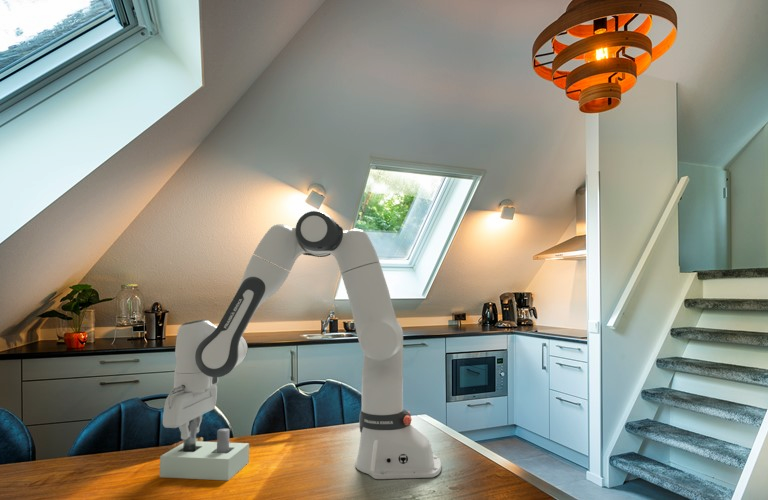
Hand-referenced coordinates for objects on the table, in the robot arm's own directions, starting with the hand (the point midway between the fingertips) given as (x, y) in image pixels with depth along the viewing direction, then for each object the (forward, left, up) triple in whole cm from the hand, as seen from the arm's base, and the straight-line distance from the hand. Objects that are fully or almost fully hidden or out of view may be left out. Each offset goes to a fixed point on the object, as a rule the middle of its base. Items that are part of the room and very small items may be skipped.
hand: (190, 435), depth 121 cm
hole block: (-5, 0, -8) cm, 9 cm away
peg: (0, 0, -5) cm, 5 cm away
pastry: (+7, -13, -9) cm, 17 cm away
